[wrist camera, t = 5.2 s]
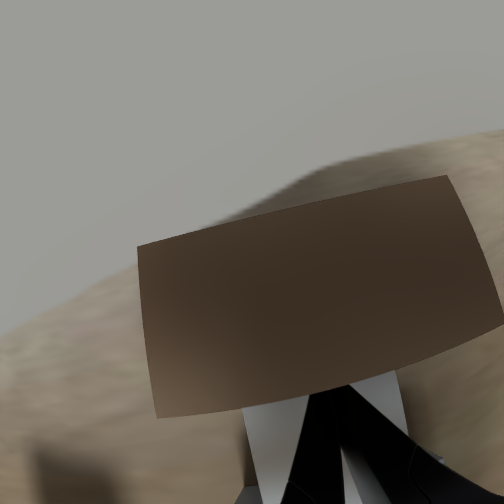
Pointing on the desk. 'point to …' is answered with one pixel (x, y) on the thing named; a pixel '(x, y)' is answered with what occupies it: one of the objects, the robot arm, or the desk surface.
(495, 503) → the robot arm
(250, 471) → the desk surface
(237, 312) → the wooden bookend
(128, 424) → the desk surface
